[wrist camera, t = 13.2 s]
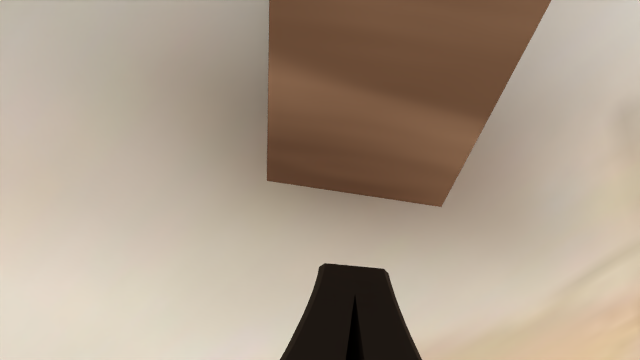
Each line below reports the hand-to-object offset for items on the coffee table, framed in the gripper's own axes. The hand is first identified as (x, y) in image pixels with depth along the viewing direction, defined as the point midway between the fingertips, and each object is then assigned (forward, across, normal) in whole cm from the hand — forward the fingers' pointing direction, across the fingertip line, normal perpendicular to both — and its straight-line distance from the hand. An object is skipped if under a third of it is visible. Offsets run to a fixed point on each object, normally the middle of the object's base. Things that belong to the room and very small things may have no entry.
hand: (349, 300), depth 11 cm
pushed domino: (+5, 0, 0) cm, 5 cm away
